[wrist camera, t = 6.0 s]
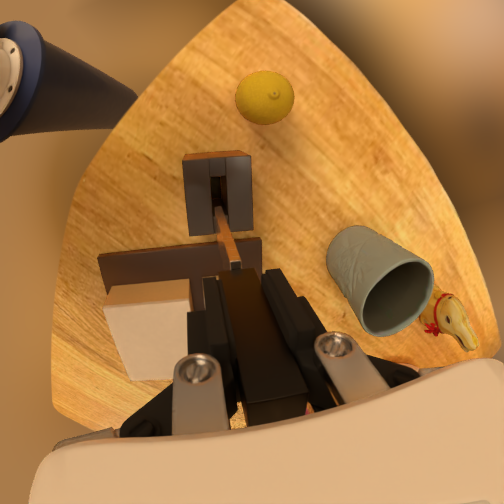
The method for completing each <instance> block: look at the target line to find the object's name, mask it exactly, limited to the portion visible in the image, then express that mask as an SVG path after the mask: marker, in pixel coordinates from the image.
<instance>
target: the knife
mask: <svg viewBox="0 0 504 504" xmlns="http://www.w3.org/2000/svg"><path fill="white" fill-rule="evenodd" d="M215 220H216V232H217V241H218V246H219V250H220V254H221V259H222V263H223V267H224V271H219V272H218V278H219V279H222V283H223V287H224V292H225V297H226V301H227V306H228V311H229V315H230V320H231V324H232V329H233V333H234V338H235V344H236V352H237V357H236V367H237V376H238V385H239V394H240V399H241V403H242V407H243V412H244V416H245V421H246V425H247V427H251V426H257V425H262V424H268V423H273V422H278V421H282V420H287V419H292V418H296V417H300V416H304V415H305V414H306V408H307V402H308V396H309V389H308V387H307V385H306V383H305V380H304V378H303V376H302V374H301V371H300V369H299V367H298V365H297V362H296V360H295V358H294V356H293V354H292V351H291V349H290V348H289V347H288V344H287V342H286V340H285V338H284V335H283V333H282V331H281V329H280V326H279V324H278V322H277V319H276V317H275V315H274V313H273V310H272V308H271V306H270V303H269V301H268V299H267V297H266V294H265V292H264V290H263V288H262V285H261V282H260V279H259V277H258V275H257V273H256V270H255V268H245V269H242V264H241V259H240V256H239V253H238V250H237V248H236V245H235V242H234V240H233V237H232V234H231V231H230V229H229V226H228V223H227V221H226V218H225V215H224V212H223V210H222V207H221V206H219V207H215Z"/></svg>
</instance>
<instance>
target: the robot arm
mask: <svg viewBox="0 0 504 504" xmlns="http://www.w3.org/2000/svg"><path fill="white" fill-rule="evenodd" d="M22 72H23V56H22V51H21V49H20V47H19V46H18V44H17V43H16V42H14V41H12V40H10V39H7V38H0V117H1V116H2V115H3V114H4V113H5V112H6V110H7V109H8V108H9V106H10V104H11V103H12V101H13V99H14V97H15V95H16V93H17V90H18V88H19V85H20V81H21V77H22ZM202 279H203V290H204V300H205V310H200V311H191V312H187V348H188V356H185V357H183V358H182V359H180V360H179V361H178V362H177V364H176V365H175V367H174V372H173V383H172V384H170V385H169V386H168V387H167V388H165V389H164V390H163V391H162V392H161V393H159V394H158V395H157V396H156V397H154V398H153V399H152V400H151V401H149V402H148V403H147V404H146V405H144V406H143V407H142V408H141V409H139V410H138V411H137V412H135V413H134V414H133V415H132V416H130V417H129V418H128V419H127V420H126V421H125V422H124V423H123V424H122V426H121V428H119V429H115V430H114V429H113V428H112V427H111V428H107V429H104V430H100V431H96V432H93V433H89V434H85V435H81V436H77V437H73V438H69V439H64V440H62V441H60V442H58V443H57V444H56V445H55V446H54V449H53V451H52V452H51V453H50V454H48V455H47V456H46V457H45V458H44V459H43V461H42V462H41V464H40V465H39V468H38V470H37V472H36V475H35V478H34V481H33V485H32V488H31V493H30V497H29V503H28V504H504V364H503V363H502V362H500V361H498V360H496V359H491V358H476V359H470V360H465V361H460V362H457V363H454V364H451V365H448V366H446V367H435V368H423V369H419V370H418V372H417V371H415V370H414V369H413V368H410V367H408V366H405V365H401V364H397V363H394V362H390V361H387V360H383V359H380V358H376V357H373V356H370V355H366V354H365V353H364V352H363V350H362V349H361V348H360V346H359V345H358V344H357V342H356V341H355V340H354V339H353V338H352V337H351V336H349V335H347V334H345V333H342V332H335V331H332V332H327V331H326V329H325V328H324V326H323V324H322V323H321V321H320V320H319V318H318V317H317V315H316V313H315V312H314V310H313V309H312V307H311V306H310V304H309V302H308V301H307V299H306V298H305V297H304V296H301V297H297V296H296V294H295V293H294V291H293V289H292V288H291V286H290V284H289V283H288V281H287V279H286V278H285V276H284V274H283V273H282V271H281V269H280V268H279V269H271V270H266V272H265V274H261V285H262V288H263V290H264V292H265V294H266V297H267V299H268V301H269V303H270V306H271V308H272V310H273V313H274V315H275V317H276V319H277V322H278V324H279V326H280V329H281V331H282V333H283V335H284V338H285V340H286V342H287V344H288V347H289V348H290V349H291V351H292V354H293V356H294V358H295V360H296V362H297V365H298V367H299V369H300V371H301V374H302V376H303V378H304V380H305V383H306V385H307V387H308V389H309V396H308V402H307V409H308V411H309V414H308V415H304V416H300V417H296V418H292V419H287V420H282V421H278V422H273V423H268V424H262V425H257V426H251V427H245V428H239V429H232V430H231V425H230V418H231V417H232V416H233V415H234V414H235V413H236V412H237V411H238V407H237V402H241V399H240V394H239V385H238V376H237V367H236V357H237V352H236V344H235V338H234V333H233V329H232V324H231V320H230V315H229V311H228V306H227V301H226V297H225V292H224V287H223V283H222V279H219V280H217V279H216V276H213V277H205V278H202Z"/></svg>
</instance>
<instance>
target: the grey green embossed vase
mask: <svg viewBox="0 0 504 504" xmlns="http://www.w3.org/2000/svg"><path fill="white" fill-rule="evenodd" d="M326 263H327V268H328V271H329V273H330V274H331V276H332V278H333V279H334V281H335V282H336V284H337V285H338V287H339V288H340V290H341V292H342V293H343V295H344V297H345V298H347V299H348V302H349V304H350V306H351V308H352V309H353V311H354V313H355V314H356V316H357V318H358V320H359V322H360V323H361V325H362V327H363V329H364V330H365V331H366V332H367V333H369V334H371V335H373V336H377V337H384V336H390V335H393V334H395V333H397V332H399V331H401V330H403V329H404V328H406V327H407V326H409V325H410V324H411V323H412V322H413V321H414V320H416V319H417V318H418V316H419V315H420V314H421V313H422V311H423V310H424V309H425V307H426V305H427V304H428V302H429V299H430V297H431V295H432V291H433V287H434V274H433V270H432V268H431V266H430V264H429V263H428V262H426V261H425V260H423V259H422V258H420V257H418V256H416V255H415V254H413V253H411V252H410V251H408V250H406V249H404V248H402V246H400V245H398V244H396V243H394V242H393V241H392V240H390V239H388V238H386V237H384V236H382V235H379V234H378V233H377V232H375V231H374V230H372V229H370V228H368V227H365V226H352V227H349V228H346V229H345V230H343V231H341V232H340V233H339V234H338V235H337V236H336V237H335V238H334V239H333V241H332V242H331V244H330V246H329V248H328V251H327V256H326Z"/></svg>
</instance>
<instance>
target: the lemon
mask: <svg viewBox="0 0 504 504" xmlns="http://www.w3.org/2000/svg"><path fill="white" fill-rule="evenodd" d="M235 102H236V105H237V108H238V110H239V112H240V114H241V115H242V116H243V117H244V118H245V119H247V120H249V121H250V122H253V123H256V124H261V125H268V124H274V123H276V122H278V121H281V120H282V119H283V118H285V117H286V116H287V115H288V113H289V112H290V111H291V109H292V107H293V104H294V91H293V88H292V86H291V84H290V83H289V81H288V80H287V79H286V78H285V77H283V76H282V75H280V74H278V73H276V72H271V71H259V72H255V73H252V74H250V75H249V76H247V77H246V78H244V79H243V80H242V81H241V83H240V84H239V86H238V88H237V91H236V94H235Z"/></svg>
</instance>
